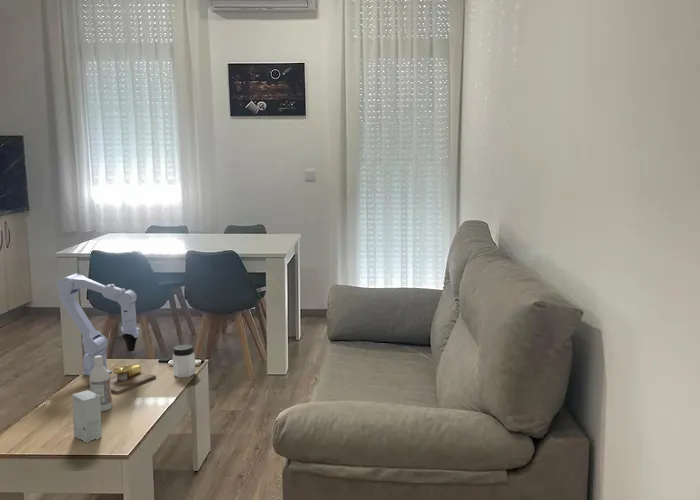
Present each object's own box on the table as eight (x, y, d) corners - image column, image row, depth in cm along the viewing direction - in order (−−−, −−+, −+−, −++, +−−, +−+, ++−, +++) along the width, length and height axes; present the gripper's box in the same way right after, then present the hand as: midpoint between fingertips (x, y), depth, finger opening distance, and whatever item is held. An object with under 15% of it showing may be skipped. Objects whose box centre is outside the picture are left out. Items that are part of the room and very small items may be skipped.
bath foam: (113, 410, 241) (109, 357, 238) (92, 413, 238) (88, 360, 235) (111, 403, 247) (107, 352, 244) (91, 407, 244) (87, 355, 241)
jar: (198, 375, 277) (196, 347, 275) (180, 379, 272) (178, 351, 270) (188, 369, 284) (187, 342, 282) (171, 374, 279) (169, 346, 277)
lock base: (88, 386, 265) (87, 376, 264) (127, 372, 282) (126, 362, 281) (117, 394, 257) (117, 383, 256) (155, 378, 274) (155, 368, 273)
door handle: (123, 382, 265) (122, 371, 265) (111, 380, 267) (110, 369, 267) (144, 372, 277) (143, 361, 276) (133, 370, 279) (132, 360, 279)
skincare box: (73, 436, 219) (70, 394, 216) (90, 430, 223) (87, 389, 221) (86, 443, 213) (83, 400, 211) (103, 437, 218) (100, 394, 215)
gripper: (145, 320, 272) (147, 352, 275) (131, 314, 283) (133, 345, 285) (128, 324, 268) (131, 356, 270) (115, 317, 279) (117, 348, 281)
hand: (131, 350), depth 277 cm, fingers closed
